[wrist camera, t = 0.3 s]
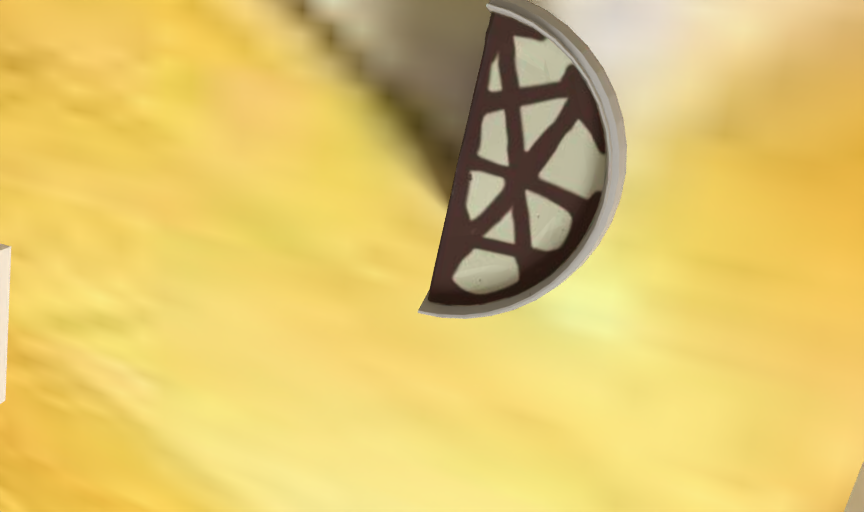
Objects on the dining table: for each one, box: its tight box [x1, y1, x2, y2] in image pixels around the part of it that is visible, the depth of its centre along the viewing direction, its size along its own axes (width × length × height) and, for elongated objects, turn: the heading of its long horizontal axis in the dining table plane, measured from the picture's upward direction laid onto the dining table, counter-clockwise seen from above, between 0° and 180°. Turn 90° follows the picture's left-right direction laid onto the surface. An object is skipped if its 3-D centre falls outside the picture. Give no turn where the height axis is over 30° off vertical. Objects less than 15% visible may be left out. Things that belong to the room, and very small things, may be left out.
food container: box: [418, 0, 627, 319], centre depth 34 cm, size 12×6×10 cm, turn 168°
